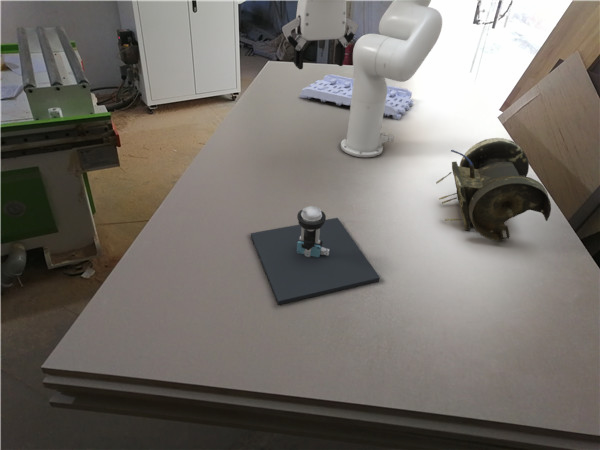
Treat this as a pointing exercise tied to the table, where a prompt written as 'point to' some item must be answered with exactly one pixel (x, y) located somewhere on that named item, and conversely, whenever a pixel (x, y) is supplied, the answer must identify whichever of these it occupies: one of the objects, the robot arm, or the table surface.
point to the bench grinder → (496, 187)
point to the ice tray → (341, 93)
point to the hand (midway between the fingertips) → (319, 66)
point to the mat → (311, 262)
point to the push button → (311, 232)
